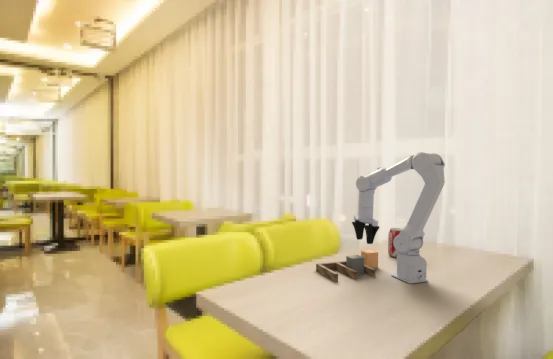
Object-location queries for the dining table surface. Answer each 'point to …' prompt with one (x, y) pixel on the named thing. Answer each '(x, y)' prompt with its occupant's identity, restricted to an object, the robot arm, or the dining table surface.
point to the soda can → (391, 236)
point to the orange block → (370, 258)
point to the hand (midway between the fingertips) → (364, 241)
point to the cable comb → (341, 270)
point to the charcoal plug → (355, 263)
